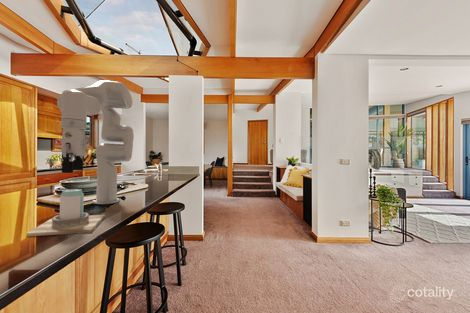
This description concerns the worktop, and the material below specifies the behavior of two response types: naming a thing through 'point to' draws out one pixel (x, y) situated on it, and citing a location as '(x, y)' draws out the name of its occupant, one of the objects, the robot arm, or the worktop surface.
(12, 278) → the worktop surface
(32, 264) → the worktop surface
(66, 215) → the can
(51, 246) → the worktop surface
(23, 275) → the worktop surface
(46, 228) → the base
